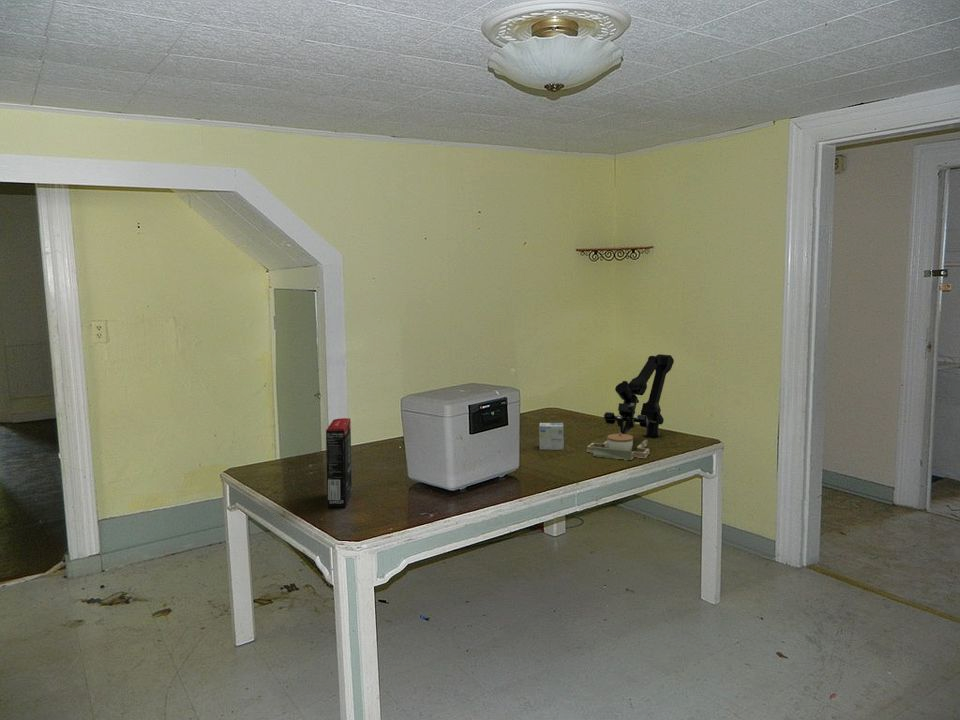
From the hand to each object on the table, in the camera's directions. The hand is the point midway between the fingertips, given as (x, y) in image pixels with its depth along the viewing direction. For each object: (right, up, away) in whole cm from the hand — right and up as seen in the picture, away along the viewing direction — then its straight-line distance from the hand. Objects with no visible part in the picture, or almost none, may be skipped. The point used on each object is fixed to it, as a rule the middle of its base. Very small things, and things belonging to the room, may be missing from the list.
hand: (622, 435), depth 306 cm
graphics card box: (-110, -16, -61) cm, 127 cm away
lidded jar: (-2, -7, -6) cm, 10 cm away
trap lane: (-1, -6, 0) cm, 6 cm away
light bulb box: (-30, -6, +6) cm, 31 cm away
